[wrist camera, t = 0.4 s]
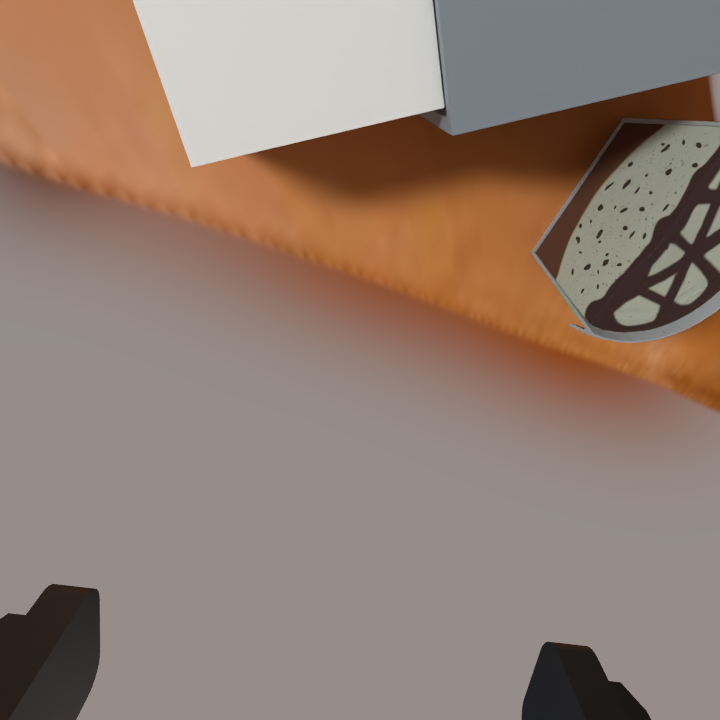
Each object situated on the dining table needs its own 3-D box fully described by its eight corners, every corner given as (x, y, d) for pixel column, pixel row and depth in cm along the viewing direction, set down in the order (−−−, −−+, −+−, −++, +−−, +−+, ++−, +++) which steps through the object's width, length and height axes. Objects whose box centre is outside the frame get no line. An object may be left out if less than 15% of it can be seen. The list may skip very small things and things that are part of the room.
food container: (585, 306, 39) (668, 382, 30) (517, 271, 37) (585, 343, 28) (710, 142, 34) (852, 179, 25) (639, 92, 32) (767, 113, 23)
